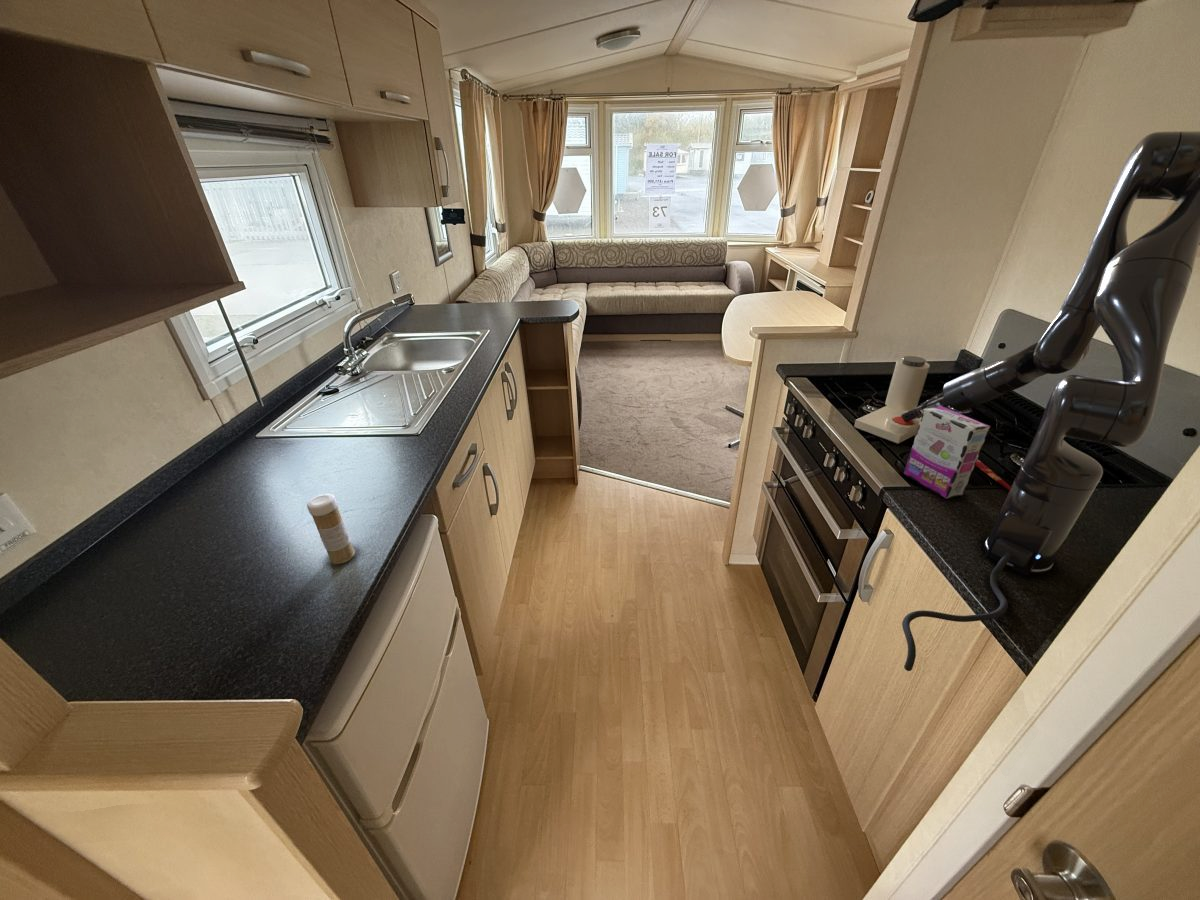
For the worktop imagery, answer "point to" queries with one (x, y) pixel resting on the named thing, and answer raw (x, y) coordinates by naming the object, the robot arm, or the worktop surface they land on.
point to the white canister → (907, 383)
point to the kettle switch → (902, 421)
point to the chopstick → (992, 474)
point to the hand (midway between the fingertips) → (904, 418)
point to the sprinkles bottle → (331, 528)
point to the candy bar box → (945, 451)
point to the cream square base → (887, 425)
